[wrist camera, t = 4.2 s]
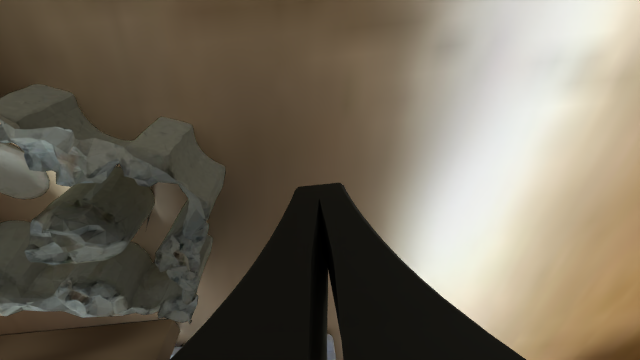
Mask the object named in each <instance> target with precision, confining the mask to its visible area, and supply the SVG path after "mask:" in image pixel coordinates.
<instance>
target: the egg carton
mask: <svg viewBox="0 0 640 360" xmlns="http://www.w3.org/2000/svg"><path fill="white" fill-rule="evenodd" d="M0 123H1V124H0V193H3V194H5V195H8V196H11V197H14V198H19V199H33V198H36V197H39V196H41V195H43V194H44V193H46V191H47V190H48V188H49V181H50V180H49V178H48V175H47V173H46V171H49V170H52V171H55V172H56V184H58V185H62V186H69V187H71V186H72V187H71V188H70V189H69V190H67V191H66V192H65V193H64V194H62V195H61V196H60V197H59V198H57V199H56V200H55V201H54V202H52V203H51V204H50V205H49V206H48V207H47V208H46V209H45V210H44V211H43V212H42V213H41V214H39V215H38V216H37V217H35V218H34V219H33V220H32V222H31V223H30V222H26V221H17V220H15V221H5V222H2V223H0V316H8V315H11V314H14V313H17V312H19V311H22V310H31V311H64V312H67V313H70V314H73V315H76V316H79V317H82V318H86V317H104V316H122V315H127V314H132V313H139V314H142V315H147V314H153V313H155V312H158V311H159V312H158V318H163V317H165V318H169V319H171V320H174V321H177V322H182V323H183V322H186V321H188V322H189V324H190V323H191V322H192V320H191V318H192V315H193V312H194V310H195V308H196V306H197V302H198V296H197V294H196V293H197V288H198V285H199V282H200V278H201V275H202V272H203V270H204V267H205V264H206V261H207V259H208V256H209V254H210V252H211V248H212V242H213V238H212V237H211V236H209V235H207V234H208V230H209V224H208V223H207V222H206V221H207V220H208V219H209V215H210V213H211V211H212V208H213V206H214V203H215V201H216V198H217V196H218V195H219V193H220V191H221V189H222V187H223V182H224V177H225V173H226V171H225V166H223V165H221V164H219V163H217V162H215V161H214V160H212V159H211V158H209V157H208V156H207V155H206V154H205V153H203V152H202V150H201V149H200V147H199V146H198V144H197V142H196V139H195V135H194V131H193V126H192V125H191V124H189V123H185V122H182V121H178V120H175V119H171V118H166V117H160V118H158V119H157V120H156V121H155V122H154V123H152V124H151V125H150V126H149V127H148V128H147V129H146V130H145V131H143V132H142V133H141V134H140V135H139V136H138V137H137V138H136V139H135V140H133V141H126V140H121V139H117V138H114V137H111V136H109V135H107V134H104V133H102V132H101V131H99V130H98V129H97V128H95V127H94V126H93V125H92V124H91V123H90V122H89V121H88V120H87V119H86V117H85V116H84V115H83V113H82V112H81V110H80V108H79V107H78V104H77V101H76V98H75V96H74V94H72V93H71V92H68V91H64V90H61V89H57V88H53V87H49V86H46V85H41V84H34V85H30V86H28V87H26V88H24V89H21V90H18V91H15V92H11V93H9V94H7V95H5V96H3V97H1V98H0ZM8 143H14V144H16V145H18V146H19V147H20V148H21V149H20V148H18V147H16V146H14V145H11V144H8ZM119 163H120V166H121V167H116V165H117V164H119ZM157 182H164V183H175V184H178V185H179V187H180V188H181V190H182V191H183V192H184V193H185V194H186V196H187V198H188V200H187V202H186V203H185V205H184V206H183V208H182V209H181V211H180V213H179V215H178V216H177V218H176V220H175V222H174V223H173V225H172V227H171V229H170V231H169V233H168V234H167V236H166V238H165V239H164V241H163V243H162V245H161V246H160V247H159V249H158V250H157V252H156V256H155V257H156V259H155V263H152V261H151V258H150V256H149V254H148V253H147V252H146V251H145V250H144V249H143V248H141V247H140V246H139V245H138V244H136V243H133V242H130V241H131V239H132V238H133V237H134V235H135V234H136V232H137V231H138V229H139V228H140V226H141V225H142V223H143V222H144V221H145V219H146V218H147V217H148V215H149V217H150V213H151V210H152V208H153V206H154V203H155V202H154V196H153V193H152V191H151V189H150V186H152V185H154V184H156V183H157ZM148 221H149V218H148ZM147 224H148V222H147ZM146 228H147V227H146ZM145 232H146V231H145Z"/></svg>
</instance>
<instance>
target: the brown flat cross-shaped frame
mask: <svg viewBox="0 0 640 360" xmlns="http://www.w3.org/2000/svg"><path fill="white" fill-rule="evenodd" d="M179 333H180V329H179V327H178V326H177V324H176V322H175V321H174V320H171V319H166V320H156V321H145V322H135V323H125V324H115V325H105V326H94V327H84V328H74V329H64V330H53V331H43V332H33V333H23V334H13V335H2V336H0V360H169V359H170V358H171V355H172V352H173V350H174V347H175V344H176V342H177V339H178V336H179Z"/></svg>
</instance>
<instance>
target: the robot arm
mask: <svg viewBox="0 0 640 360" xmlns="http://www.w3.org/2000/svg"><path fill="white" fill-rule="evenodd" d="M328 270H329V276H330V281H331V286H332V292H333V297H334V303H335V308H336V313H337V319H338V324H339V329H340V335H341V340H342V349H343V360H526V359H525V358H523V357H522V356H520V355H519V354H518V353H516V352H515V351H513V350H512V349H510V348H509V347H508V346H506V345H505V344H503V343H502V342H501V341H499V340H498V339H496V338H495V337H494V336H492V335H491V334H489V333H488V332H487V331H485V330H484V329H483V328H482V327H480V326H479V325H478V324H476V323H475V322H474V321H473V320H471V319H470V318H469V317H467V316H466V315H465V314H463V313H462V312H461V311H460V310H458V309H457V308H456V307H454V306H453V305H452V304H451V303H449V302H448V301H447V300H445V299H444V298H443V297H442V296H441V295H439V294H438V293H437V292H436V291H435V290H434V289H433V288H431V287H430V286H429V285H428V284H427V283H426V282H424V281H423V280H422V279H421V278H420V277H419V276H418V275H417V274H416V273H415V272H414V271H412V270H411V269H410V268H409V267H408V266H407V265H406V264H405V263H404V262H403V261H402V260H401V259H400V258H399V257H398V256H397V255H396V254H395V253H394V252H393V251H392V250H391V249H390V247H389V246H388V245H387V244H386V243H385V242H384V241H383V240H382V239H381V238H380V236H379V235H378V234H377V233H376V232H375V230H374V229H373V228H372V227H371V225H370V224H369V223H368V222H367V220H366V219H365V218H364V217H363V215H362V214H361V213H360V211H359V210H358V209H357V207H356V206H355V204H354V203H353V201H352V200H351V198H350V196H349V195H348V193H347V191H346V189H345V187H344V185H342V184H341V183H332V184H322V185H313V186H303V187H298V188H297V189H296V190H295V192H294V194H293V197H292V199H291V201H290V203H289V205H288V207H287V209H286V211H285V213H284V215H283V217H282V219H281V221H280V222H279V224H278V226H277V228H276V229H275V231H274V233H273V235H272V236H271V238H270V240H269V241H268V243H267V244H266V246H265V247H264V249H263V250H262V252H261V253H260V255H259V256H258V258H257V259H256V261H255V262H254V264H253V265H252V266H251V268H250V269H249V271H248V272H247V273H246V275H245V276H244V277H243V279H242V280H241V281H240V282H239V284H238V285H237V286H236V288H235V289H234V290H233V291H232V293H231V294H230V295H229V296H228V297H227V299H226V300H225V301H224V302H223V303H222V304H221V305H220V307H219V308H218V309H217V310H216V311H215V312H214V314H213V315H212V316H211V317H210V318H209V319H208V320H207V322H206V323H205V324H204V325H203V326H202V327H201V328H200V329H199V330H198V331H197V332H196V333H195V334H194V336H193V337H192V338H191V339H190V340H189V341H188V342H187V343H186V344H185V345H184V346H183V347H174V350H173V352H172V355H171V358H170V359H169V360H336V355H335V348H334V341H333V337H332V336H331V335H330V334H327V307H328Z"/></svg>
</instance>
